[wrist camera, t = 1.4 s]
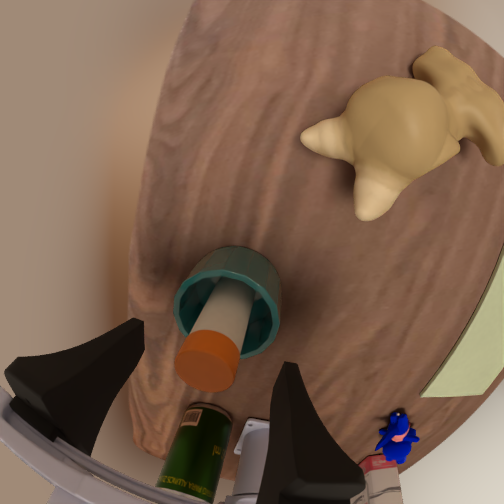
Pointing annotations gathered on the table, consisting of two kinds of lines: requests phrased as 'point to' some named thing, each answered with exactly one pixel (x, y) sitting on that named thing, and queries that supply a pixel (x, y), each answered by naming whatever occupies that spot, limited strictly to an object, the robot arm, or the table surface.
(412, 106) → the tan rounded lobed piece
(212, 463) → the beer can
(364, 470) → the ink box
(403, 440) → the figurine
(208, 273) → the cup
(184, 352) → the glue stick
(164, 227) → the table surface
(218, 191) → the table surface
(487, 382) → the mat
